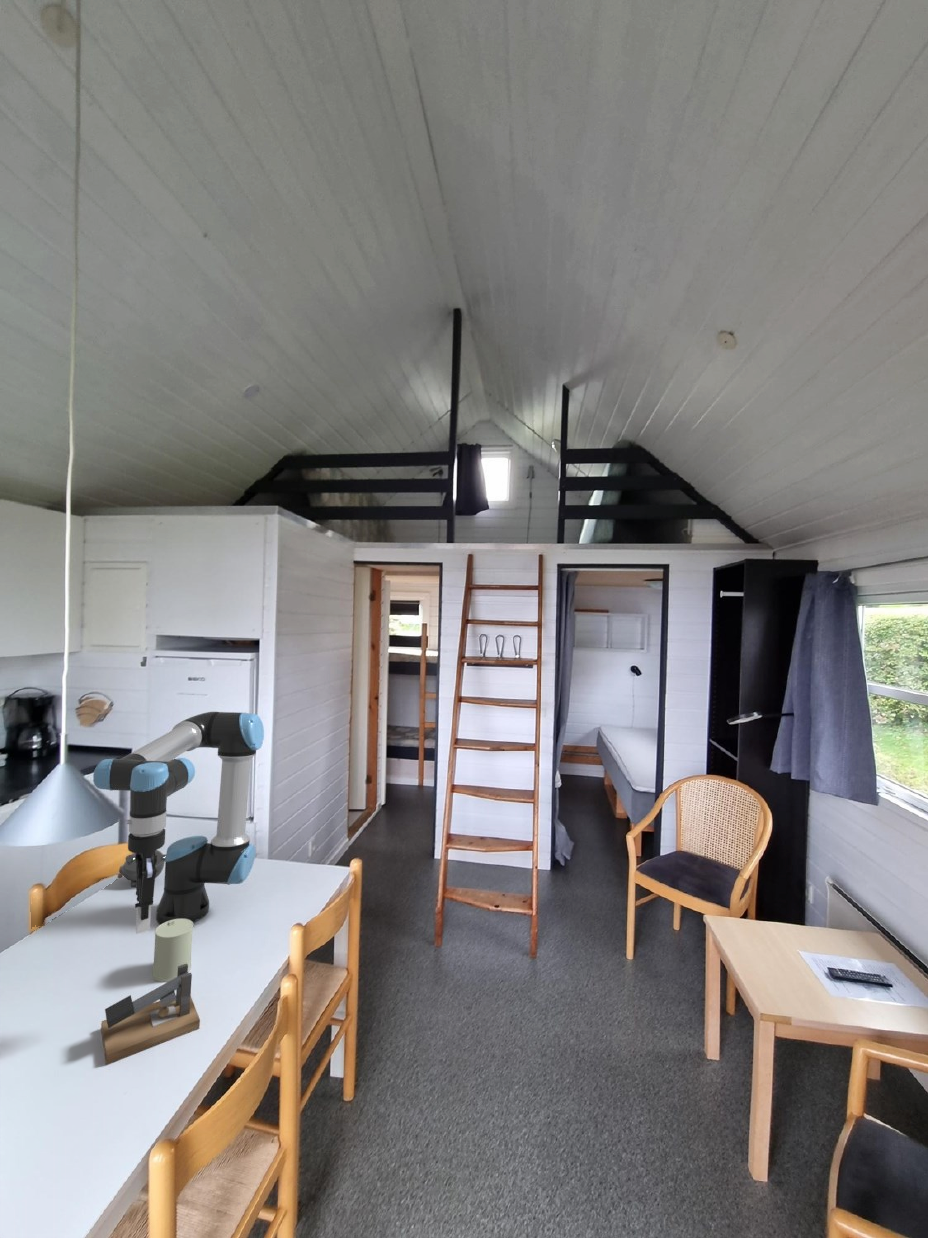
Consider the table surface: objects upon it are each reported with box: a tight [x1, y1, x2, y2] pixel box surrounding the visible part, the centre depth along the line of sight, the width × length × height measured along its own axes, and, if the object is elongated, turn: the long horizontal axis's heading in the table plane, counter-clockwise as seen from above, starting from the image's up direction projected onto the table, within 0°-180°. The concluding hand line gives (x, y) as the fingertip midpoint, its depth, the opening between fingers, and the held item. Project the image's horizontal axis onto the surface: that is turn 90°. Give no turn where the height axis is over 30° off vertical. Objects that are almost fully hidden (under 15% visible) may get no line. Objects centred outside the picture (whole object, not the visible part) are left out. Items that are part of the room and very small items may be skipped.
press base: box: [100, 963, 201, 1066], centre depth 122 cm, size 12×18×11 cm, turn 129°
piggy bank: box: [118, 849, 166, 888], centre depth 189 cm, size 11×15×12 cm
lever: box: [104, 971, 189, 1028], centre depth 122 cm, size 5×17×4 cm, turn 129°
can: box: [151, 919, 194, 983], centre depth 142 cm, size 9×9×12 cm
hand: (142, 930), depth 125 cm, fingers closed
